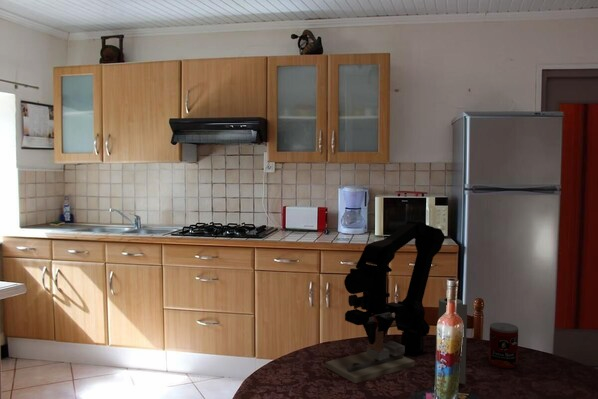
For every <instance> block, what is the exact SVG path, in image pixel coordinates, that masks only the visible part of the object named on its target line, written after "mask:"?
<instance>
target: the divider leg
mask: <svg viewBox="0 0 598 399" xmlns="http://www.w3.org/2000/svg"><path fill="white" fill-rule="evenodd" d="M383 334H384V331H382V330H380V329H378V327H377V328H376V333H375V339H374V343H373V344H370V343H369V340H368V344H367V345H368V346H367V347H366V352H367V355H368V356H370V357H372V358H373V359H374V360H383V359H386V358H389V350H388V349H386V348H383V343H384V339H383Z"/></svg>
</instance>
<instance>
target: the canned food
mask: <svg viewBox="0 0 598 399" xmlns="http://www.w3.org/2000/svg"><path fill="white" fill-rule="evenodd" d="M488 341H489V342H488V343H489V344H488V346H489V347H488V348H489V349H488V360H489V363H490V364H491V365H492V366H494V367H495V368H499V369H514V368H516V367H517V365H518V349H519V348H518V347H519V328H518V326H517V325H515V324H511V323H507V322H492V323H490V324H489V340H488Z"/></svg>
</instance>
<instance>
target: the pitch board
mask: <svg viewBox="0 0 598 399" xmlns="http://www.w3.org/2000/svg"><path fill="white" fill-rule="evenodd" d="M383 348H386V349H388V350H389V358H386V359H383V360H374V359H373V358H372V357H370V356H368V355H367V351H364V352H359V353H356V354H352V355H348V356H345V357H339V358H335V359H332V360H329V361H325V364H324V365H325V368H326V369H328V370H330V371H332V372H333V373H335V374H337V375H338V376H340V377H343V378H344V379H346V380H348V381H350V382H351V383H353V384H357V383H361V382H365V381H368V380H369V381H370V380H372V379H375V378H379V377H381V376H382V377H383V376H385V375H389V374H392V373H396V372H399V371H402V370H405V369H409V368H413V367H416V365H415V364H416V360H414V359H412V358H409V357H406V356H404V354H406V353H405V346H403V345H401V343H398V342H396V341H393V340H391V341H387V342H383Z"/></svg>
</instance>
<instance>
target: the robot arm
mask: <svg viewBox="0 0 598 399" xmlns="http://www.w3.org/2000/svg"><path fill="white" fill-rule="evenodd" d="M445 239H446V238H445V233H444V232H443V230H442V229H441V228H439V227H435V226H431V225H428V224H426V223H425V222H422V221H421V220H408V221H406V222H405V224H404V225H402V226H401V227H400V228H398V229H397V230H395V231H394V232H392V233H391V234H390V235H388V236H387V237H386V238H384V239H383V238H382V239H381V240H375V241H371V243H368V244H366V245H365V247H364V248H363V251H362V252H361V255H360V258H358V261H357V263H356V265H355V268H350V269H349V273H348V274H346V276H345V278H344V281H343V284H344V287H345V288H344V289H345V290H346V292H348V293H349V294H350V295H348V298H347V302H348V306H350V307H353V309H350V310H349V309H348V310H347V311H346V312H345V313H344V321H345V322H348V323H350V324H353V325H355V326H362V327H363V329H364V331H365V334H366V336H367V339H368V340H369V343H370V344H373V343H374V339H375V333H376V328H377V329H380V330H382V331H384V334H383V340H384V339H385V337H386V335H387V333H388V331H389V329H390V327H391V326H392V325H393V323H394V321H395V326H396V329H397V331H401V338H400V344H401V345H403V346H405V354H406V355H409V356H411V357H416V356H419V355H422V354H426V353H428V350H426V349H424V338H425V337H426V336H427V335H428V334H429V333H430V329H431V326H430V325H429V324H428V322H427V320H426V319H425V314H426V312H425V308H424V304H423V301H424V300H423V299H424V296H425V291H426V289H427V288H426V287H427V284H428V279H429V276H430V271H431V268H432V264H433V259H434V257H435V256H436V255H437V254H438V253H439V252H440V251H441V250H442V246H443V243H444V242H445ZM412 240H414V246H415V250H416V257H415V261H414V266H413V269H412V273H411V277H410V280H409V285H408V289H407V292H406V296H405V298H404V299H403V300H402V301H400V300H399V301H398V302H396V301H391V302H388V301H387V298H390V297H391V295H390V294H391V293H390V292H388V290H387V289H388V288H387V287H388V273H391V272H393V269H392V267H390V266H389V265H390V263H391V262H392V261H393V260H394V259H395V256H396V253H397V252H398V251H400V249H401V248H403V247H404V246H406V245H407V244H408V243H410V242H411V241H412ZM357 294H362V296H358V295H357ZM358 308H361V309H358ZM363 310H365V311H363ZM393 314H394V316H393ZM375 318H376V320H377V321H375Z"/></svg>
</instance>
